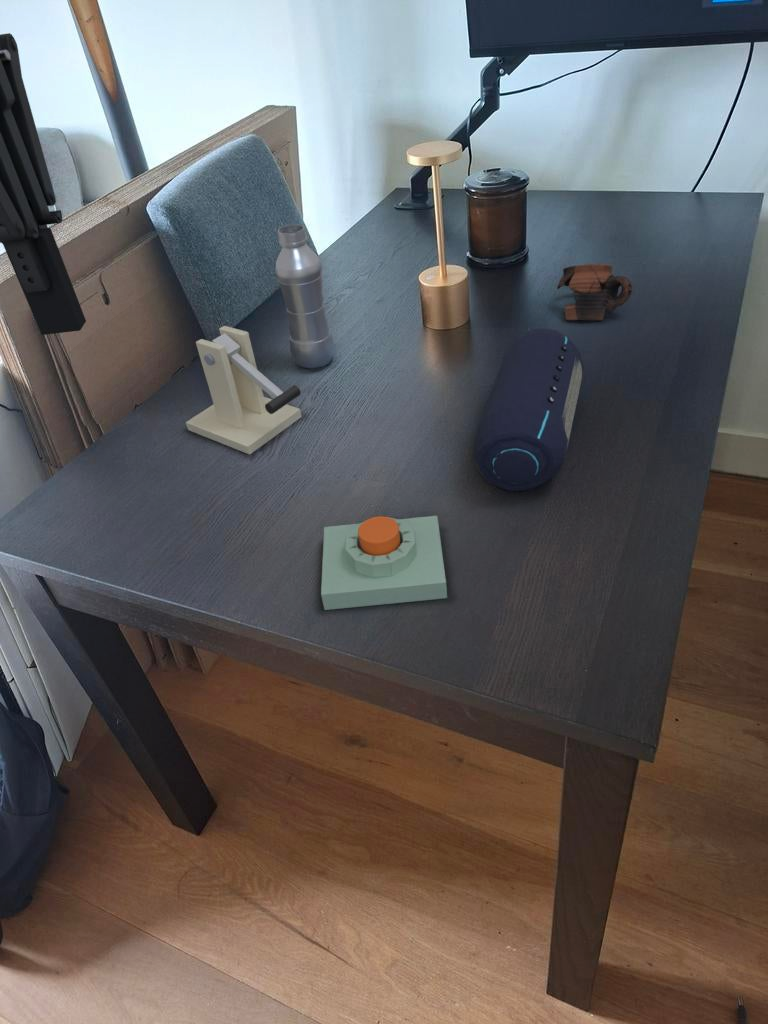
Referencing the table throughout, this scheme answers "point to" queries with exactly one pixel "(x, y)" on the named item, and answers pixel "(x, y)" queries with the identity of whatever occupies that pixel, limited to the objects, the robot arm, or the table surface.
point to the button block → (383, 567)
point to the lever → (257, 376)
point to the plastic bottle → (303, 298)
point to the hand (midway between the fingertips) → (64, 327)
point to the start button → (379, 536)
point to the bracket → (236, 400)
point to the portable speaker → (530, 411)
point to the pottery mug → (594, 291)
